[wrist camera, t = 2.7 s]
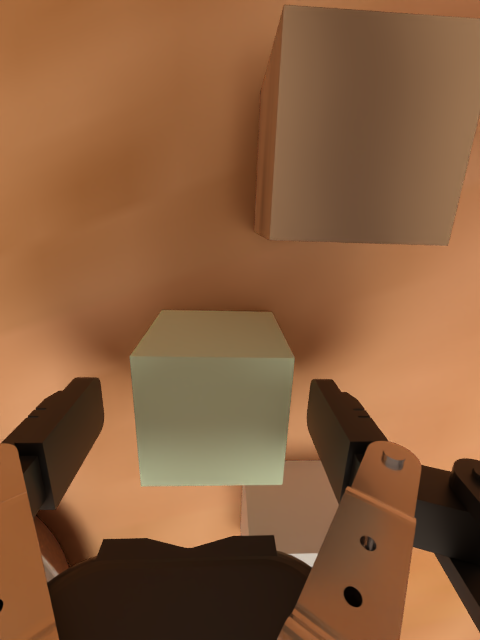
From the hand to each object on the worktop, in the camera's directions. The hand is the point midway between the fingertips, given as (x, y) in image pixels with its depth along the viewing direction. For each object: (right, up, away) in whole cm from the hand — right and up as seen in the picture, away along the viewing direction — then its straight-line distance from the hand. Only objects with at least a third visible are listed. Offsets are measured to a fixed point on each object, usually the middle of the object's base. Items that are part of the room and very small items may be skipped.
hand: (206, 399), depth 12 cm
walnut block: (+4, +9, +1) cm, 10 cm away
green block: (0, +1, +3) cm, 3 cm away
